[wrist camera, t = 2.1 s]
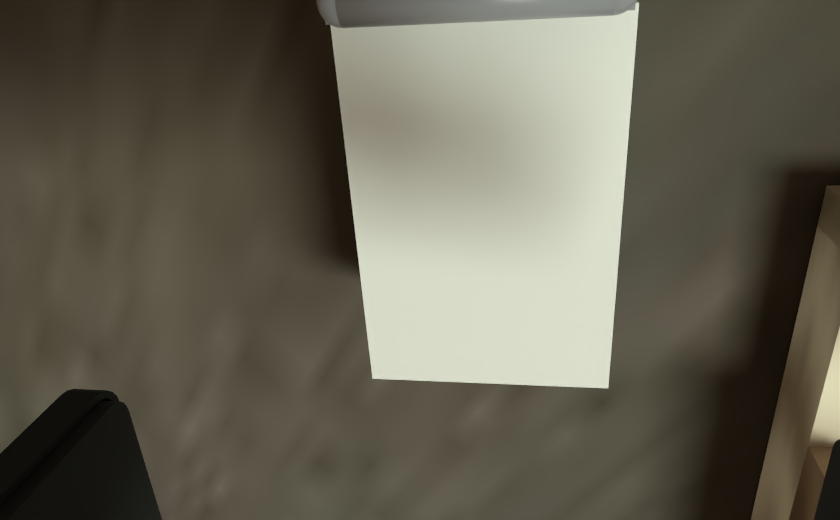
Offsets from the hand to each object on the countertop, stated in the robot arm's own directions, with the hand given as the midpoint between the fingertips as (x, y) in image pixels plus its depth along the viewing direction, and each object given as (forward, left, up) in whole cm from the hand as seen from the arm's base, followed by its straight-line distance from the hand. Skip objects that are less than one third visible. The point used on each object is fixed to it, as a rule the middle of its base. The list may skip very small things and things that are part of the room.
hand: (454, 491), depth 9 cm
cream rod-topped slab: (-1, 0, -12) cm, 12 cm away
